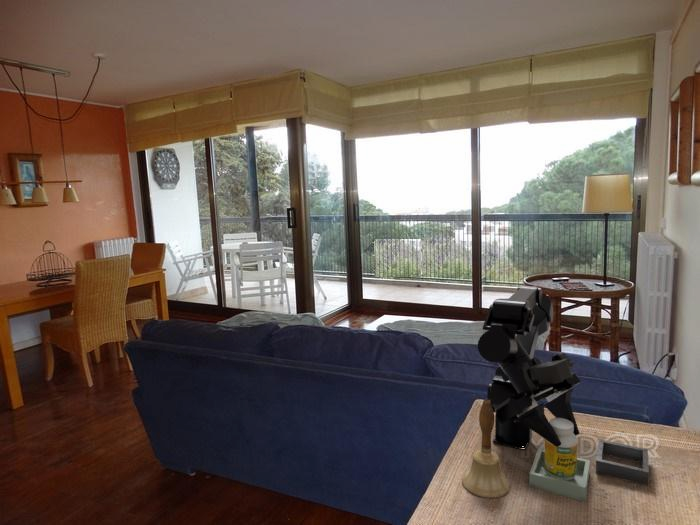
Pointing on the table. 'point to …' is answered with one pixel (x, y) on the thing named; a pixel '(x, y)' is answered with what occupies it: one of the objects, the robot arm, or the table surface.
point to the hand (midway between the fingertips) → (568, 440)
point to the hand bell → (486, 462)
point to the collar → (620, 469)
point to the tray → (562, 487)
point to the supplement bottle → (562, 451)
